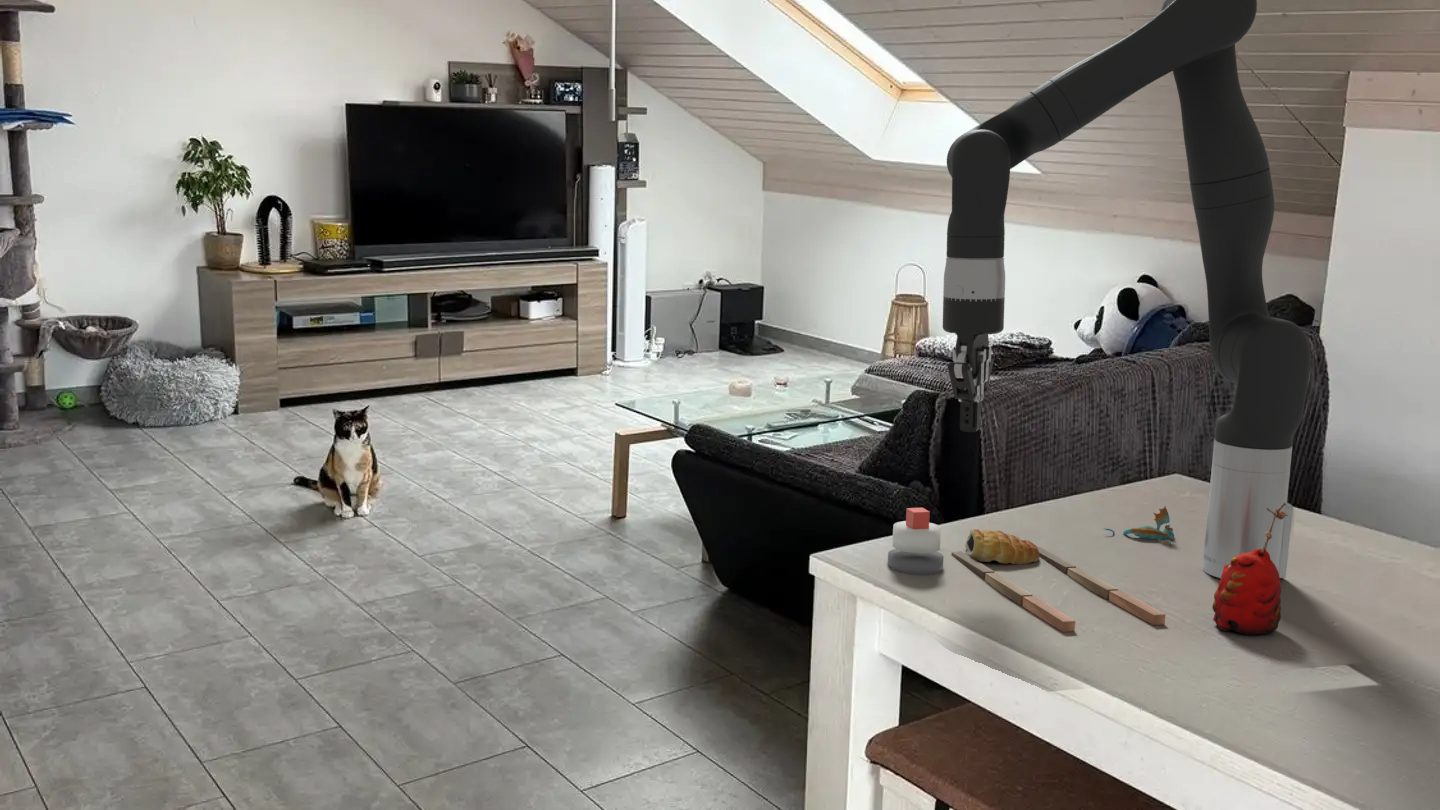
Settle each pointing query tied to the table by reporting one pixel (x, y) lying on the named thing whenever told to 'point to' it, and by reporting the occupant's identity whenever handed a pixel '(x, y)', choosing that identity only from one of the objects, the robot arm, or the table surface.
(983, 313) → the robot arm
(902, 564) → the button base
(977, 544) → the pastry
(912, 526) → the dome button
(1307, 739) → the table surface
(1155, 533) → the dragon figurine
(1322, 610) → the table surface
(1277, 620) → the red clay folk toy
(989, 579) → the track
